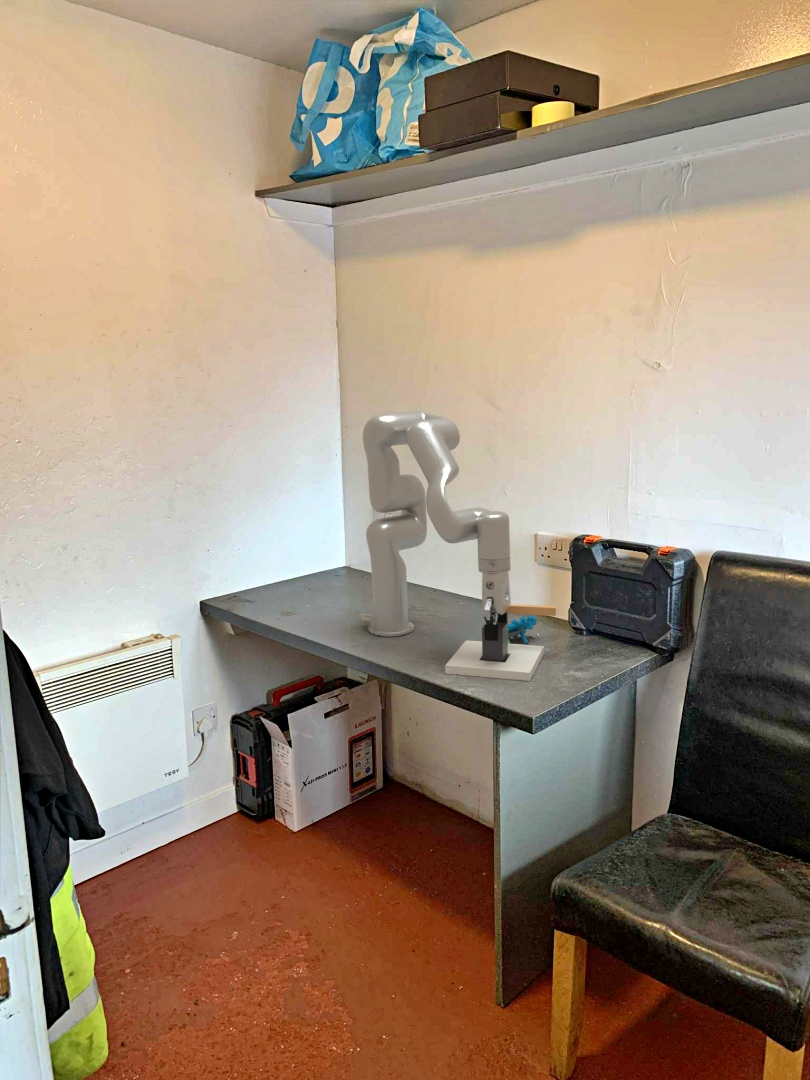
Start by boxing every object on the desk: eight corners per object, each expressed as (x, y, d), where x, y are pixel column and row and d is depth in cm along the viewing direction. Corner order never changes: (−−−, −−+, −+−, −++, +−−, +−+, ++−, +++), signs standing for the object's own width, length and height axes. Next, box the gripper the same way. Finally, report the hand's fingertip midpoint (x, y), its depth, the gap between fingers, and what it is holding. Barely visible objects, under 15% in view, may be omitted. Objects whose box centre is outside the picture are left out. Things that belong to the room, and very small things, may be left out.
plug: (482, 667, 196) (481, 627, 194) (487, 660, 201) (486, 621, 199) (503, 669, 195) (502, 629, 193) (507, 662, 199) (507, 622, 197)
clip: (555, 620, 200) (555, 608, 199) (497, 617, 204) (497, 605, 203) (556, 617, 202) (556, 605, 201) (498, 614, 206) (498, 603, 205)
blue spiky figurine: (530, 627, 221) (539, 609, 212) (539, 646, 218) (548, 629, 209) (492, 637, 218) (499, 620, 209) (501, 657, 215) (508, 640, 207)
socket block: (445, 673, 193) (444, 636, 192) (466, 647, 211) (465, 613, 209) (529, 681, 187) (529, 642, 185) (543, 653, 204) (543, 618, 203)
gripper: (501, 573, 184) (504, 646, 187) (517, 557, 200) (519, 624, 203) (469, 572, 186) (472, 644, 189) (487, 556, 202) (489, 623, 205)
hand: (496, 634), depth 196 cm, fingers open, 9 cm apart
